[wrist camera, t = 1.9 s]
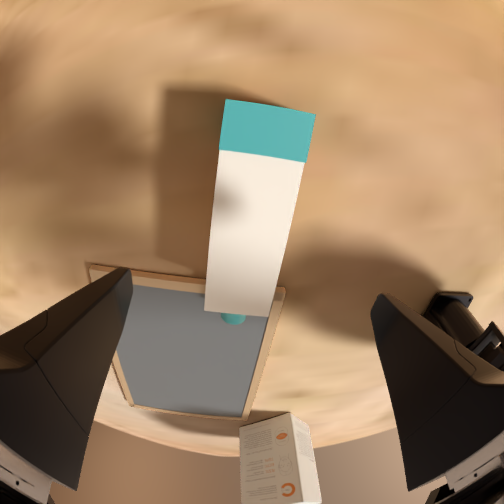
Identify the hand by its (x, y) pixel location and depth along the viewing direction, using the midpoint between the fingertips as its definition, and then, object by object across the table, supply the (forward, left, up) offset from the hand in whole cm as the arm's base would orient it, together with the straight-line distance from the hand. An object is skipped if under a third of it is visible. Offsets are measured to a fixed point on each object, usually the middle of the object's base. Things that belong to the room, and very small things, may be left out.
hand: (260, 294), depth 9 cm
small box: (-8, +31, -10) cm, 33 cm away
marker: (0, 0, -10) cm, 10 cm away
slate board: (+4, +17, -9) cm, 20 cm away
